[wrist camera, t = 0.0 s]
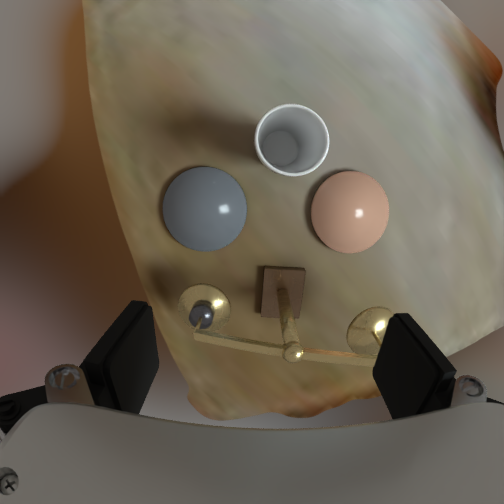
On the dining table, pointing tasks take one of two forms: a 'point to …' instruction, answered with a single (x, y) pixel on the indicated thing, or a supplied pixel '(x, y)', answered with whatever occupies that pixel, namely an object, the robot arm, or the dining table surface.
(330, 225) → the pink dome
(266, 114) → the drinking glass
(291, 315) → the balance
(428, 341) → the robot arm
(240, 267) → the dining table surface
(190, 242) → the dish slate
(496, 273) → the dining table surface
